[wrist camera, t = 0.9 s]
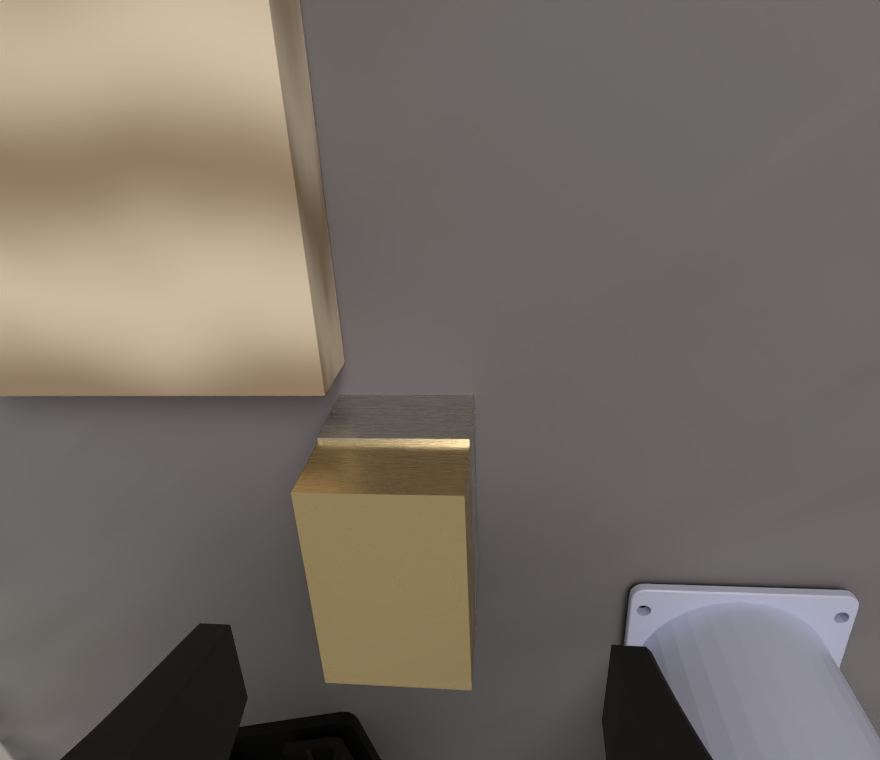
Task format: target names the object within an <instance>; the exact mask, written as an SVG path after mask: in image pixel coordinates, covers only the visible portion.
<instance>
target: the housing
mask: <svg viewBox="0 0 880 760" xmlns="http://www.w3.org/2000/svg"><path fill="white" fill-rule="evenodd" d="M317 439H318V443H317V445H316V447H315V449H314V451H313V453H312V454H311V456H310V458H309V460H308V462H307V464H306V466H305V467H304V469H303V471H302V473H301V475H300V477H299V479H298V480H297V482H296V484H295V486H294V488H293V490H292V492H291V496H292V502H293V507H294V513H295V518H296V524H297V529H298V535H299V540H300V546H301V551H302V557H303V562H304V568H305V573H306V579H307V584H308V590H309V595H310V601H311V606H312V612H313V617H314V623H315V628H316V634H317V639H318V645H319V650H320V656H321V661H322V667H323V672H324V678H325V683H340V684H359V685H378V686H397V687H417V688H436V689H455V690H472V678H473V660H474V642H475V627H476V611H477V593H478V575H479V553H478V517H477V480H476V444H475V407H474V395H341V396H340V398H339V399H338V401H337V403H336V405H335V407H334V409H333V410H332V412H331V414H330V416H329V418H328V419H327V421H326V423H325V425H324V427H323V429H322V430H321V432H320V434H319V436H318V438H317Z"/></svg>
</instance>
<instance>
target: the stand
mask: <svg viewBox="0 0 880 760" xmlns="http://www.w3.org/2000/svg"><path fill="white" fill-rule="evenodd" d="M344 363H345V361H344V352H343V344H342V336H341V328H340V320H339V312H338V304H337V296H336V288H335V280H334V272H333V264H332V256H331V248H330V240H329V231H328V223H327V215H326V207H325V199H324V191H323V183H322V175H321V167H320V159H319V151H318V143H317V135H316V127H315V119H314V111H313V102H312V94H311V86H310V78H309V70H308V62H307V54H306V46H305V38H304V30H303V22H302V14H301V6H300V0H0V396H325V395H326V393H327V392H328V390H329V388H330V387H331V385H332V383H333V381H334V380H335V378H336V376H337V375H338V373H339V371H340V370H341V368H342V366H343V365H344Z"/></svg>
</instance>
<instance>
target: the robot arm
mask: <svg viewBox="0 0 880 760" xmlns="http://www.w3.org/2000/svg"><path fill="white" fill-rule="evenodd" d="M644 605H645V606H646V607H645V608H638V607H640V606H644ZM858 608H859V602H858V601H857V599H856V598H855V596H854V595H853V593H851V592H849V591H846V590H828V589H796V588H764V587H732V586H700V585H668V584H639V585H636V586H634V587H633V588H632V589H631V591H630V593H629V603H628V612H627V621H626V630H625V639H624V645H611V653H610V661H609V669H608V677H607V685H606V693H605V701H604V709H603V717H602V724H603V733H604V742H605V752H606V760H880V738H879V736H878V735H877V733H876V731H875V729H874V728H873V726H872V724H871V723H870V721H869V719H868V717H867V716H866V714H865V712H864V711H863V709H862V707H861V705H860V704H859V702H858V700H857V699H856V697H855V695H854V693H853V692H852V690H851V688H850V686H849V685H848V683H847V681H846V680H845V678H844V676H843V674H842V673H841V671H840V669H839V667H840V664H841V661H842V658H843V655H844V652H845V649H846V645H847V642H848V639H849V636H850V633H851V630H852V627H853V624H854V621H855V617H856V614H857V611H858ZM838 613H840V614H838ZM836 614H838V615H836ZM247 698H248V697H247V693H246V689H245V685H244V680H243V676H242V672H241V668H240V664H239V660H238V656H237V651H236V647H235V643H234V639H233V635H232V631H231V626H230V625H221V624H202V623H200V624H199V625H198V626H197V627H196V628H195V629H194V630H193V631H192V632H191V633H190V634H189V635H188V636H187V637H186V638H185V639H184V640H183V641H182V642H181V643H180V644H179V645H178V646H177V647H176V648H175V649H174V650H173V651H172V652H171V653H170V654H169V655H168V656H167V657H166V658H165V659H164V660H163V661H162V662H161V663H160V664H159V665H158V666H157V667H156V668H155V669H154V670H153V671H152V672H151V673H150V674H149V675H148V676H147V677H146V678H145V679H144V680H143V681H142V682H141V683H140V684H139V685H138V686H137V687H136V688H135V689H134V690H133V691H132V692H131V693H130V694H129V695H128V696H127V697H126V698H125V699H124V700H123V701H122V702H121V703H120V704H119V705H118V706H117V707H116V708H115V709H114V710H113V711H112V712H111V713H110V714H109V715H108V716H107V717H106V718H105V719H104V720H103V721H102V722H101V723H100V724H98V725H97V726H96V727H95V728H94V729H93V730H92V731H91V732H90V733H89V734H88V735H87V736H86V737H85V738H83V739H82V740H81V741H80V742H79V743H78V744H77V745H76V746H75V747H74V748H72V749H71V750H70V751H69V752H68V753H67V754H66V755H65V756H64V757H63V758H62V759H60V760H228V759H229V757H230V754H231V751H232V748H233V744H234V741H235V738H236V735H237V732H238V729H239V725H240V722H241V719H242V715H243V712H244V708H245V705H246V702H247Z"/></svg>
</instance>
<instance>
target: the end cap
mask: <svg viewBox="0 0 880 760" xmlns="http://www.w3.org/2000/svg"><path fill="white" fill-rule="evenodd" d="M228 760H381V759H380V757H379V756H378V754H377V752H376V750H375V748H374V747H373V745H372V743H371V741H370V739H369V738H368V736H367V734H366V732H365V731H364V729H363V727H362V725H361V723H360V722H359V720H358V718H357V717H356V716H355V715H354V714H351V713H349V712H337V713H331V714H324V715H317V716H311V717H304V718H297V719H291V720H284V721H277V722H271V723H264V724H257V725H250V726H244V727H239V729H238V732H237V735H236V738H235V741H234V744H233V748H232V751H231V754H230V757H229V759H228Z"/></svg>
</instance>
